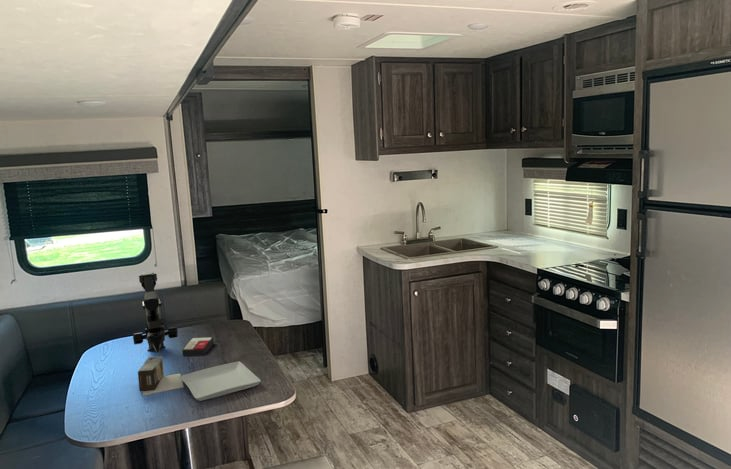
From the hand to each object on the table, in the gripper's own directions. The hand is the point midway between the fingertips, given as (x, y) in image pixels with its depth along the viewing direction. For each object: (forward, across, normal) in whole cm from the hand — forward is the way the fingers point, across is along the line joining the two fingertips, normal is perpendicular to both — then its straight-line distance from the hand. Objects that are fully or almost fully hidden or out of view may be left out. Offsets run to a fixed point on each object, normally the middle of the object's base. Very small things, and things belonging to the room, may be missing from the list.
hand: (157, 352), depth 243 cm
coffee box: (+4, -1, +4) cm, 6 cm away
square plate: (+26, +22, -10) cm, 35 cm away
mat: (+16, 0, 0) cm, 16 cm away
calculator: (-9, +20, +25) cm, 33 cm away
